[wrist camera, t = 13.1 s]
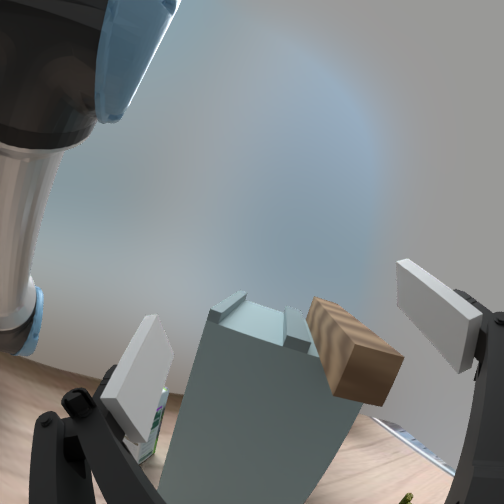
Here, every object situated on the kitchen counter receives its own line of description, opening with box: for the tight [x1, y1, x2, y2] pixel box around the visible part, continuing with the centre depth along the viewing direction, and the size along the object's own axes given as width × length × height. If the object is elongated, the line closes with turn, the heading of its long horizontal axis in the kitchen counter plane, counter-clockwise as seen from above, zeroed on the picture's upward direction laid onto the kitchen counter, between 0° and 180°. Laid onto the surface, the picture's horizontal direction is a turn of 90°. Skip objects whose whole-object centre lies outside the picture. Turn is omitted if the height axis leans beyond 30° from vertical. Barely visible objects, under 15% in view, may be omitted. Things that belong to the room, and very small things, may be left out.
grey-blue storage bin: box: [157, 291, 363, 504], centre depth 38 cm, size 18×20×31 cm
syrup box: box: [123, 386, 169, 465], centre depth 39 cm, size 6×6×14 cm
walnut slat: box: [306, 297, 404, 407], centre depth 33 cm, size 29×4×4 cm, turn 174°
